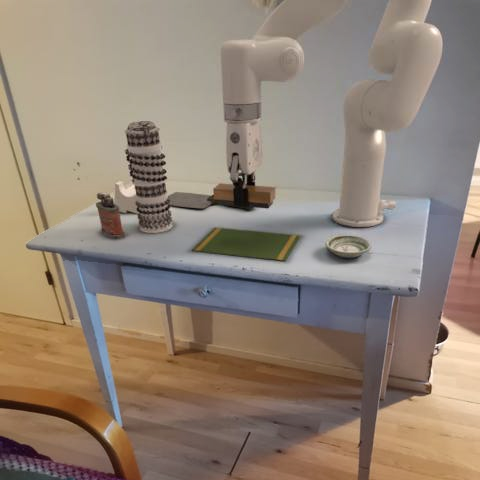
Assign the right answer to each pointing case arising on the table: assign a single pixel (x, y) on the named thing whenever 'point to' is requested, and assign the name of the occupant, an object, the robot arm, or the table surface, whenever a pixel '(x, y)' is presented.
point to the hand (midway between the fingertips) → (244, 201)
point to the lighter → (109, 217)
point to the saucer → (348, 245)
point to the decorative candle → (148, 176)
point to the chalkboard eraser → (256, 195)
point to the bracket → (125, 198)
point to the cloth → (248, 244)
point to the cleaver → (194, 200)
